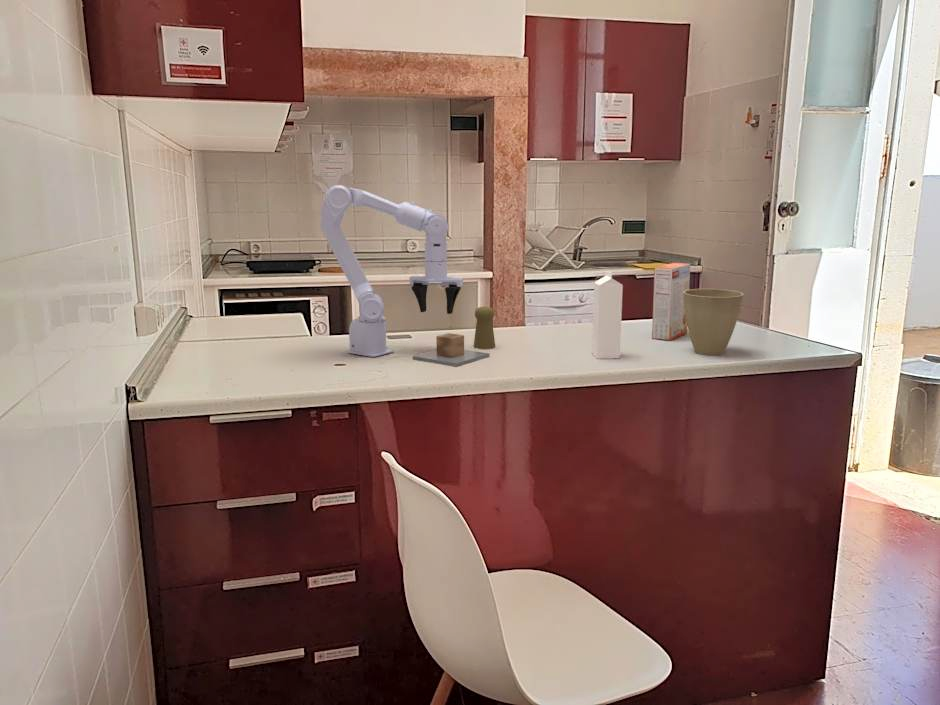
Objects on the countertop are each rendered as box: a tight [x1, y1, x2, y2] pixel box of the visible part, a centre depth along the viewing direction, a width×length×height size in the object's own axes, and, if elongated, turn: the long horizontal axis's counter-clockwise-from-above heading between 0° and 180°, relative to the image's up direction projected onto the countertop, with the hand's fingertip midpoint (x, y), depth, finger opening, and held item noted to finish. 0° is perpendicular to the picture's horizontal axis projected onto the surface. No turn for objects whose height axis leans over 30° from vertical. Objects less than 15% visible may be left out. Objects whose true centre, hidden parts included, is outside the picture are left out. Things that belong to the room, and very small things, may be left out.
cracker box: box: [651, 262, 691, 341], centre depth 218 cm, size 14×6×21 cm, turn 144°
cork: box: [473, 306, 496, 350], centre depth 205 cm, size 6×6×11 cm
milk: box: [591, 269, 624, 360], centre depth 192 cm, size 6×6×22 cm
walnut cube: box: [435, 332, 465, 358], centre depth 192 cm, size 5×5×5 cm
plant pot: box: [683, 288, 744, 356], centre depth 197 cm, size 15×15×16 cm
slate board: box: [412, 349, 490, 368], centre depth 193 cm, size 14×14×1 cm
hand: (436, 312), depth 199 cm, fingers open, 7 cm apart
